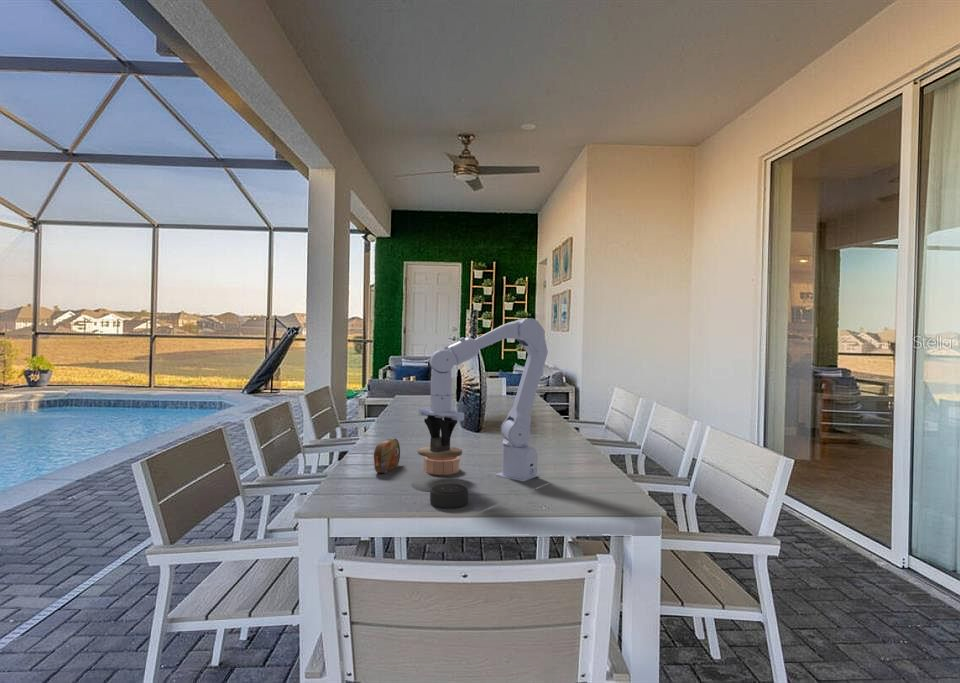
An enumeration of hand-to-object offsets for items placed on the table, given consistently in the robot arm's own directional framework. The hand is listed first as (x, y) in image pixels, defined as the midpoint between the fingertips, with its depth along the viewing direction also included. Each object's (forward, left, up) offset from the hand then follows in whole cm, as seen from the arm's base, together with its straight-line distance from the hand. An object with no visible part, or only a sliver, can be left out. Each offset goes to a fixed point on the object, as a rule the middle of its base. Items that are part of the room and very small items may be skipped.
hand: (440, 444), depth 155 cm
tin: (+18, +2, -10) cm, 21 cm away
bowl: (+5, -7, -9) cm, 13 cm away
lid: (0, 0, -2) cm, 2 cm away
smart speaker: (-16, +15, -10) cm, 24 cm away
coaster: (-4, +5, -9) cm, 12 cm away
